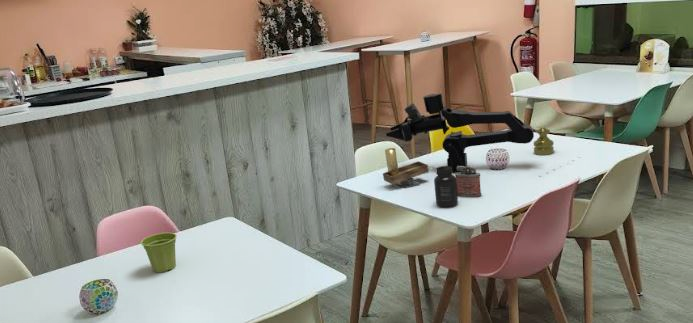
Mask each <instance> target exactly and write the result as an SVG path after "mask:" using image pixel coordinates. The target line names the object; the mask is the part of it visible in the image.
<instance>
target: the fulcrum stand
mask: <svg viewBox="0 0 693 323" xmlns="http://www.w3.org/2000/svg"><path fill="white" fill-rule="evenodd" d="M394 185H396V186H399V187H401V188H403V189H410V188H413V187H418V186H420V185H421V183H420V182H418V181H416V180H414V177H413V178H410V179H407V180H404V181H401V182H398V183H395V184H394Z"/></svg>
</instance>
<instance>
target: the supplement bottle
mask: <svg viewBox="0 0 693 323" xmlns="http://www.w3.org/2000/svg"><path fill="white" fill-rule="evenodd" d="M453 173H454V172H452V167H450V166H447V165H444V166H438V167H437V168H436V176H435V177H434V180H433V183H434V194H435V196H434V197H435V205H436V206H437V207H439V208H442V209H443V208H444V209H445V208H453V207H456V206H458V204H459V198H458V196H457V183H456V177H455V174H453Z"/></svg>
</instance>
